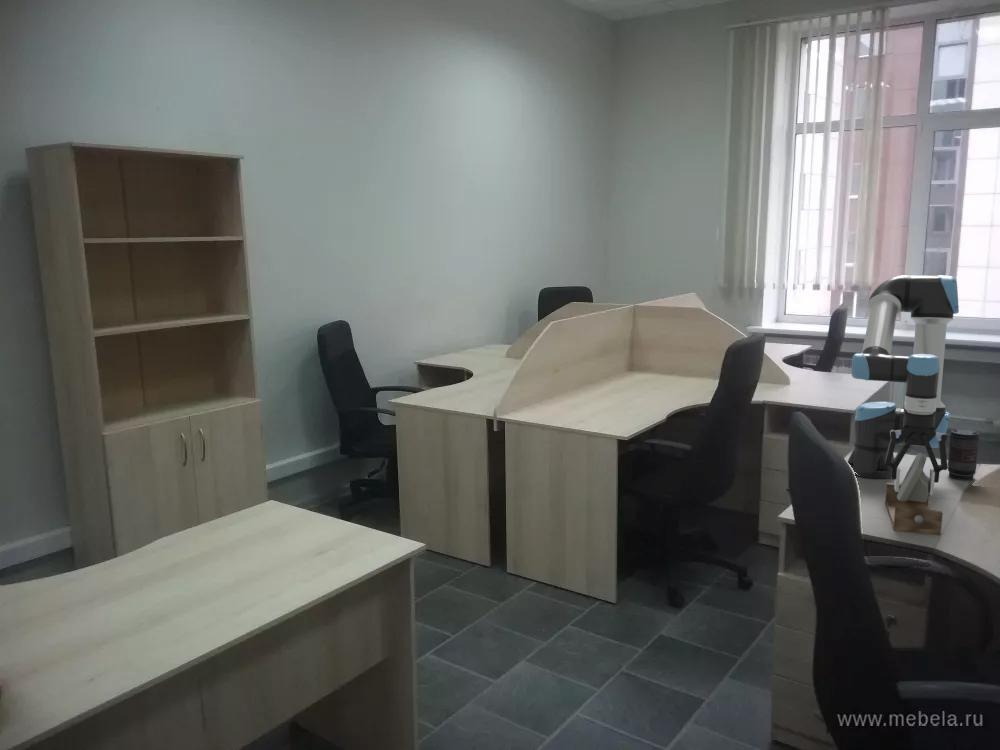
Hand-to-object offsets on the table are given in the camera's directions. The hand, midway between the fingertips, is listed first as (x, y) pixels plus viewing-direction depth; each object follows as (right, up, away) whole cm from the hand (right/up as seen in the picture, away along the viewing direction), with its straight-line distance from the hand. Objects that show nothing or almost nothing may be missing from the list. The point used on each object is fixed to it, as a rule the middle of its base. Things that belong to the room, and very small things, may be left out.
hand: (913, 491), depth 212 cm
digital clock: (0, -1, +1) cm, 2 cm away
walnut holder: (0, -8, +2) cm, 8 cm away
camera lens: (+34, -1, +35) cm, 49 cm away
